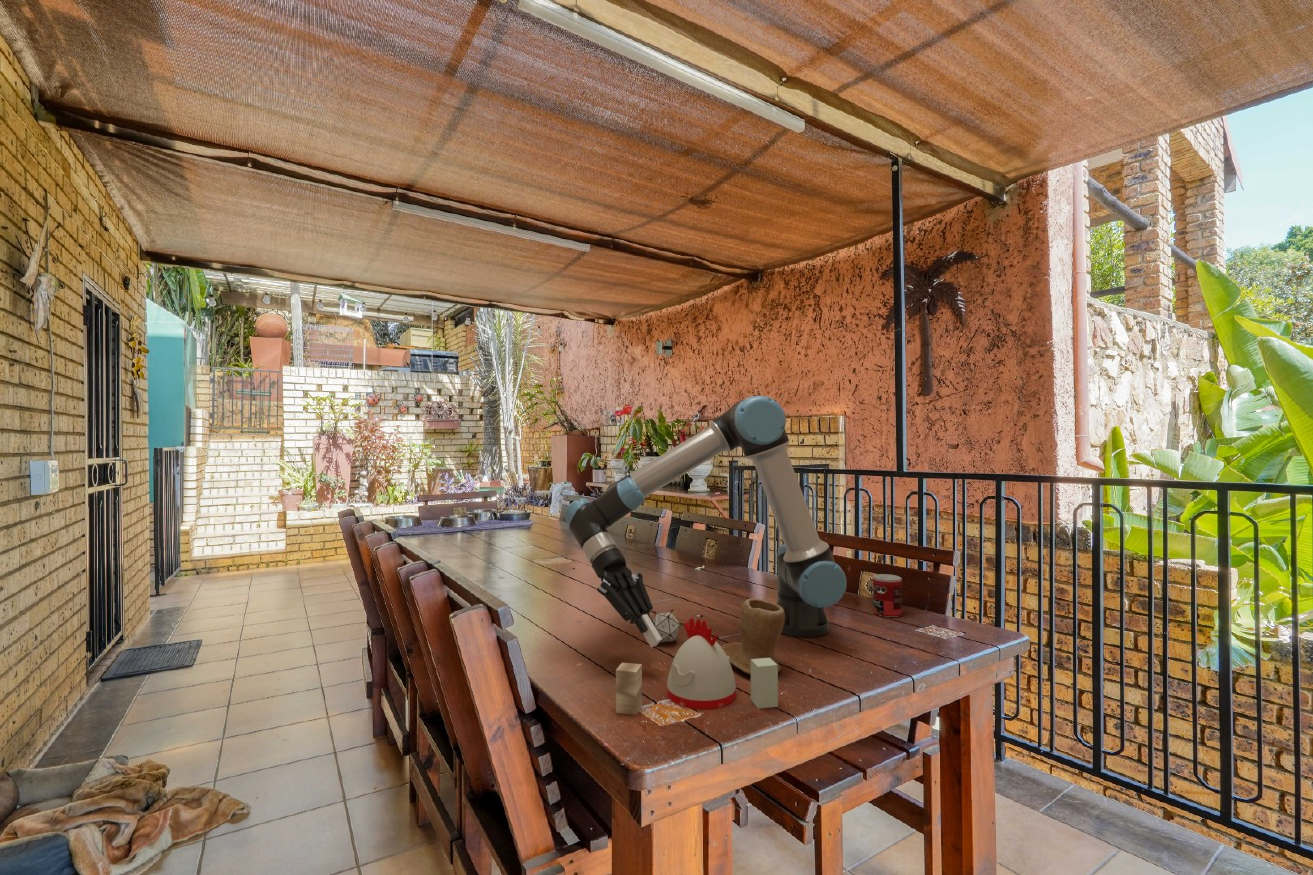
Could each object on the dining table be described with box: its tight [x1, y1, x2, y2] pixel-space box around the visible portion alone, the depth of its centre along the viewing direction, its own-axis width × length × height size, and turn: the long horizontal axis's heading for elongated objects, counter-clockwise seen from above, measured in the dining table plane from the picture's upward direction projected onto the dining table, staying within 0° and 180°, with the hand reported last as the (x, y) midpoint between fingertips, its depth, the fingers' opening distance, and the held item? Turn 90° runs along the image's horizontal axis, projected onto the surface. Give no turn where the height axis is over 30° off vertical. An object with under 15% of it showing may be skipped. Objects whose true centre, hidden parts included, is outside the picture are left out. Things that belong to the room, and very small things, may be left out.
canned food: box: [872, 573, 903, 617], centre depth 176 cm, size 8×8×11 cm
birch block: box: [615, 662, 643, 716], centre depth 114 cm, size 4×4×8 cm
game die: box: [652, 608, 685, 647], centre depth 152 cm, size 9×8×10 cm
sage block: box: [750, 658, 779, 710], centre depth 116 cm, size 4×4×8 cm
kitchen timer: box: [666, 617, 737, 710], centre depth 121 cm, size 14×14×15 cm
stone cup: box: [720, 598, 785, 676], centre depth 135 cm, size 15×12×15 cm
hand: (656, 643), depth 129 cm, fingers closed
